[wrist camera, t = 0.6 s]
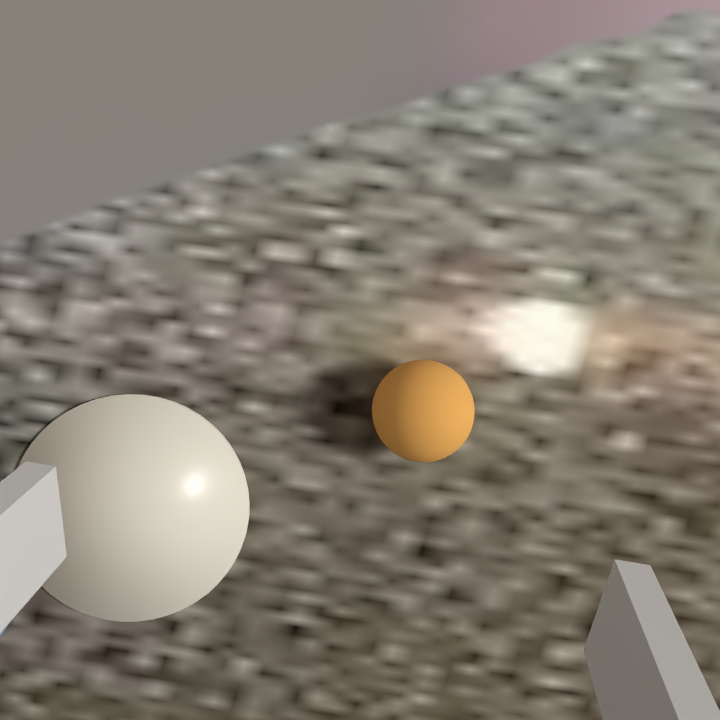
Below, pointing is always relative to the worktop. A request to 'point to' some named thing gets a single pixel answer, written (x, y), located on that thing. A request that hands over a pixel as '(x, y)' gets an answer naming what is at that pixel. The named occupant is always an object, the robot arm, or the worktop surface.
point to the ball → (423, 411)
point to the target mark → (142, 506)
